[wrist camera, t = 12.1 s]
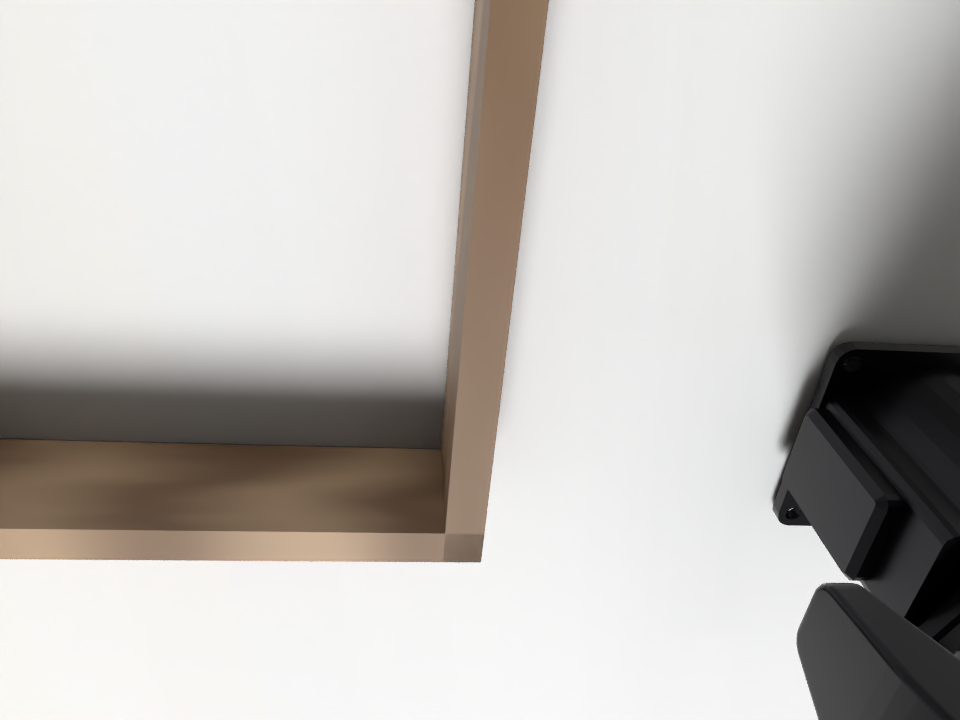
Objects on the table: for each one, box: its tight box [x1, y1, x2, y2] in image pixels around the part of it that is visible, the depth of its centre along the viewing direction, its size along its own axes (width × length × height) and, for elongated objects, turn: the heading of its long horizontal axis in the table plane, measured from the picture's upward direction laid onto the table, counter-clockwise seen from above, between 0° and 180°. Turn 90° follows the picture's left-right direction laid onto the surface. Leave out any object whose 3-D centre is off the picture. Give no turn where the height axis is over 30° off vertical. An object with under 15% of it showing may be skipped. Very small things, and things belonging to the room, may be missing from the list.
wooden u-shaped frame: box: [0, 0, 549, 562], centre depth 15 cm, size 16×21×4 cm
